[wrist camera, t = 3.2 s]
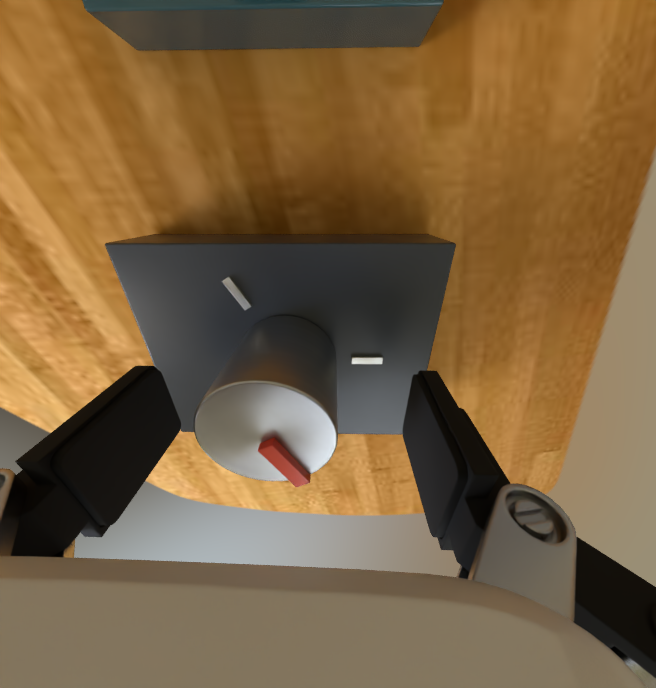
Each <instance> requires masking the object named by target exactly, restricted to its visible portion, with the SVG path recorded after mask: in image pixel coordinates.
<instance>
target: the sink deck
mask: <svg viewBox="0 0 656 688" xmlns="http://www.w3.org/2000/svg"><path fill="white" fill-rule="evenodd" d="M105 246H106V249H107V251H108V253H109V256H110V258H111V261H112V263H113V266H114V268H115V271H116V273H117V275H118V278H119V280H120V283H121V285H122V288H123V290H124V292H125V295H126V297H127V300H128V302H129V305H130V307H131V310H132V312H133V314H134V317H135V319H136V322H137V324H138V327H139V329H140V331H141V334H142V336H143V339H144V341H145V344H146V346H147V349H148V351H149V353H150V356H151V358H152V361H153V363H154V366H155V367H156V368H157V369H158V370H159V371H161V373H162V375H163V377H164V380H165V382H166V385H167V388H168V390H169V393H170V395H171V398H172V400H173V403H174V406H175V408H176V411H177V413H178V416H179V418H180V421H181V431H182V432H194V425H193V423H194V415H195V412H196V409H197V407H198V405H199V403H200V402H201V400H202V399H203V397H204V396H205V394H206V393H207V391H208V390H209V388H210V387H211V385H212V384H213V382H214V381H215V379H216V378H217V376H218V375H219V373H220V372H221V370H222V369H223V367H224V366H225V364H226V363H227V361H228V360H229V358H230V357H231V355H232V354H233V352H234V351H235V349H236V348H237V346H238V345H239V343H240V342H241V340H242V339H243V337H244V336H245V334H246V333H247V332H248V330H249V329H250V328H251V327H252V326H254V325H255V324H256V323H258V322H260V321H262V320H264V319H267V318H270V317H274V316H294V317H299V318H302V319H305V320H307V321H309V322H311V323H313V324H315V325H316V326H318V327H319V328H320V329H321V330H323V331H324V332H325V334H326V335H327V336H328V337H329V339H330V340H331V342H332V344H333V346H334V349H335V352H336V365H337V416H338V434H403V423H404V418H405V413H406V407H407V402H408V397H409V392H410V387H411V382H412V377H413V375H414V374H418V372H419V371H420V370H424V371H427V368H428V363H429V359H430V355H431V350H432V346H433V342H434V337H435V333H436V329H437V324H438V320H439V316H440V311H441V307H442V303H443V298H444V294H445V290H446V285H447V281H448V277H449V272H450V268H451V264H452V259H453V255H454V251H455V246H456V244H455V243H453V242H450V241H447V240H444V239H441V238H438V237H435V236H432V235H429V234H154V235H148V236H143V237H137V238H132V239H126V240H121V241H115V242H109V243H106V244H105Z"/></svg>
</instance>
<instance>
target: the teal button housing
mask: <svg viewBox="0 0 656 688" xmlns="http://www.w3.org/2000/svg"><path fill="white" fill-rule="evenodd" d="M82 1H83V4H84V7H85V9H86V11H87V12H89V13H90V14H91V15H92V16H94V17H95V18H96V19H98V20H99V21H100V22H101V23H103V24H104V25H105V26H107V27H108V28H109V29H111V30H112V31H113V32H114V33H116V34H117V35H118V36H120V37H121V38H122V39H123V40H125V41H126V42H127V43H129V44H130V45H131V46H132V47H134V48H135V49H136V50H207V49H280V48H352V47H419V46H420V45H421V43H422V41H423V39H424V38H425V36H426V34H427V32H428V30H429V28H430V27H431V25H432V23H433V21H434V19H435V18H436V16H437V14H438V12H439V10H440V9H441V7H442V5H443V3H444V0H82Z"/></svg>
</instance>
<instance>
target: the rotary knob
mask: <svg viewBox="0 0 656 688" xmlns="http://www.w3.org/2000/svg"><path fill="white" fill-rule="evenodd" d="M193 425H194V432H195V436H196V439H197V441H198V443H199V445H200V446H201V448H202V449H203V450H204V452H205V453H206V454H207V455H208V456H209V457H210V458H211V459H212V460H214V461H215V462H216V463H218V464H219V465H221V466H222V467H224V468H226V469H227V470H230V471H232V472H234V473H236V474H239V475H241V476H245V477H248V478H252V479H257V480H264V481H286V480H289V481H290V482H291V483H292V484H293V485H294V486H295V487H299V486H302V485H305V484H308V483H310V476H311V475H310V474H312V473H314V472H315V471H317V470H319V469H320V468H321V467H323V466H324V465H325V464H326V463H327V462H328V461H329V460H330V458H331V457H332V455H333V453H334V451H335V449H336V446H337V441H338V416H337V365H336V352H335V349H334V346H333V344H332V342H331V340H330V339H329V337H328V336H327V335H326V334H325V332H324V331H323V330H321V329H320V328H319V327H318V326H316V325H315V324H313V323H311V322H309V321H307V320H305V319H302V318H299V317H294V316H274V317H270V318H267V319H264V320H262V321H260V322H258V323H256V324H255V325H254V326H252V327H251V328H250V329H249V330H248V332H247V333H246V334H245V336H244V337H243V339H242V340H241V342H240V343H239V345H238V346H237V348H236V349H235V351H234V352H233V354H232V355H231V357H230V358H229V360H228V361H227V363H226V364H225V366H224V367H223V369H222V370H221V372H220V373H219V375H218V376H217V378H216V379H215V381H214V382H213V384H212V385H211V387H210V388H209V390H208V391H207V393H206V394H205V396H204V397H203V399H202V400H201V402H200V403H199V405H198V407H197V409H196V412H195V415H194V423H193Z"/></svg>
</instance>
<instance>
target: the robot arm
mask: <svg viewBox="0 0 656 688" xmlns="http://www.w3.org/2000/svg"><path fill="white" fill-rule="evenodd" d="M180 429H181V421H180V418H179V416H178V413H177V411H176V408H175V406H174V403H173V400H172V398H171V395H170V393H169V390H168V388H167V385H166V382H165V380H164V377H163V375H162V373H161V371H159V370H158V369H157V368H156V367H154V366H135V367H134V368H132V369H131V370H130V371H128V372H127V373H126V374H125V375H123V376H122V377H121V378H120V379H118V380H117V381H116V382H115V383H113V384H112V385H111V386H110V387H108V388H107V389H106V390H105V391H103V392H102V393H101V394H100V395H98V396H97V397H96V398H94V399H93V400H92V401H91V402H89V403H88V404H87V405H86V406H84V407H83V408H82V409H81V410H79V411H78V412H77V413H76V414H74V415H73V416H72V417H71V418H69V419H68V420H67V421H66V422H64V423H63V424H62V425H61V426H59V427H58V428H57V429H56V430H54V431H53V432H52V433H50V434H49V435H48V436H47V437H45V438H44V439H43V440H42V441H40V442H39V443H38V444H37V445H35V446H34V447H33V448H32V449H30V450H29V451H28V452H27V453H25V454H24V455H23V456H22V457H20V458H19V459H18V460H17V461H16V463H17V464H18V465H19V466H20V467H21V468H22V469H23V470H22V471H21V472H20V473H18V474H17V475H15V473H14V472H13V471H11V470H10V469H3V468H2V469H0V688H656V587H655V586H653V585H651V584H650V583H648V582H647V581H645V580H644V579H642V578H641V577H639V576H637V575H636V574H634V573H633V572H631V571H630V570H628V569H626V568H625V567H623V566H622V565H620V564H619V563H617V562H616V561H614V560H612V559H611V558H609V557H608V556H606V555H605V554H603V553H601V552H600V551H598V550H597V549H595V548H594V547H592V546H590V545H589V544H587V543H586V542H584V541H582V540H581V539H580V538H578V537H576V531H575V528H574V526H573V524H572V522H571V520H570V518H569V517H568V516H567V514H566V513H565V512H564V511H563V510H562V508H561V507H560V506H559V505H558V504H556V503H555V502H554V501H553V500H552V499H551V498H549V497H548V496H546V495H545V494H543V493H542V492H540V491H538V490H536V489H534V488H531V487H529V486H526V485H522V484H510V482H509V480H508V479H507V477H506V476H505V474H504V472H503V471H502V469H501V468H500V466H499V464H498V463H497V461H496V460H495V458H494V456H493V455H492V453H491V452H490V450H489V448H488V447H487V445H486V443H485V442H484V440H483V439H482V437H481V435H480V434H479V432H478V431H477V429H476V427H475V426H474V424H473V423H472V421H471V419H470V418H469V416H468V415H467V413H466V412H465V411H464V410H463V409H462V408H459V407H458V406H457V404H456V402H455V401H454V399H453V397H452V396H451V394H450V392H449V391H448V389H447V387H446V386H445V384H444V382H443V380H442V379H441V377H440V375H439V374H438V372H437V371H424V370H420V371H419V372H418V374H414V375H413V377H412V382H411V387H410V392H409V397H408V402H407V407H406V413H405V418H404V423H403V438H404V442H405V445H406V449H407V452H408V456H409V459H410V463H411V466H412V470H413V473H414V477H415V480H416V484H417V487H418V491H419V494H420V498H421V501H422V505H423V509H424V512H425V515H426V519H427V523H428V526H429V529H430V533H431V534H432V536H433V537H437V538H438V541H439V544H440V548H441V550H453V551H454V554H455V557H456V560H457V562H458V563H459V564H460V565H461V566H460V569H459V571H458V574H457V577H447V576H440V575H431V574H420V573H405V572H389V571H375V570H360V569H337V568H316V567H294V566H272V565H271V566H270V565H249V564H224V563H201V562H175V561H173V562H172V561H150V560H123V559H120V560H119V559H94V558H74V547H75V538H76V537H77V536H78V535H79V533H80V532H81V533H82V534H83V535H84V536H85V537H87V536H88V537H102V536H103V534H104V533H105V532H106V531H107V529H108V528H109V526H110V525H112V524H114V523H115V522H116V521H117V520H118V519H119V517H120V516H121V514H122V513H123V511H124V510H125V508H126V507H127V506H128V504H129V503H130V501H131V500H132V498H133V497H134V496H135V494H136V493H137V491H138V490H139V489H140V487H141V486H142V484H143V483H144V481H145V480H146V479H147V477H148V476H149V474H150V473H151V471H152V470H153V469H154V467H155V466H156V464H157V463H158V461H159V460H160V459H161V457H162V456H163V454H164V453H165V451H166V450H167V448H168V447H169V446H170V444H171V443H172V441H173V440H174V438H175V437H176V436H177V434H178V433H179V431H180Z"/></svg>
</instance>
